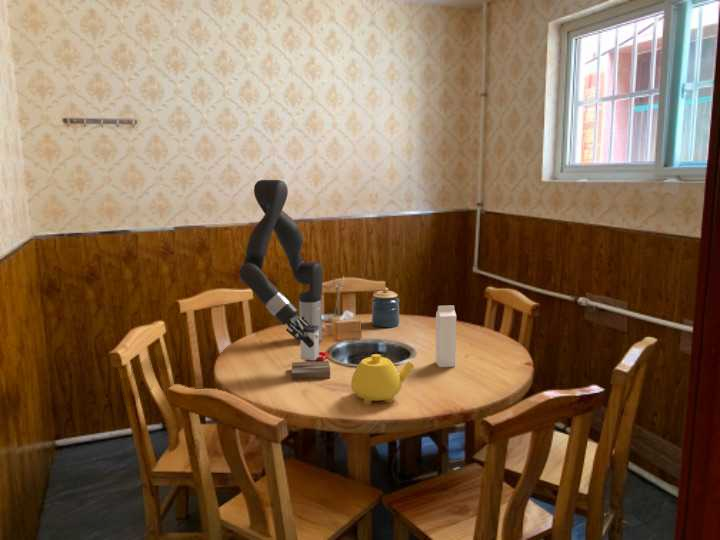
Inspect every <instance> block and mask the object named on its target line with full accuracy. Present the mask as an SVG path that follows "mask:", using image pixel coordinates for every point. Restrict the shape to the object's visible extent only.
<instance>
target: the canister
mask: <svg viewBox="0 0 720 540" xmlns="http://www.w3.org/2000/svg"><path fill="white" fill-rule="evenodd" d="M371 302H372V306H371V324H373V325H375V326H378V327H377V328H380V327H391V328H396V327H399V325H400V306H399V302H400V298H398V294H397V293H396V292H395V291H392V290H389V288H388V287H383V288H382V290H379V291H376V292H375V293H373V298H372V299H371ZM373 325H372V326H373ZM375 326H374V327H375ZM395 326H396V327H395Z"/></svg>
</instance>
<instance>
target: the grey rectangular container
mask: <svg viewBox="0 0 720 540" xmlns="http://www.w3.org/2000/svg"><path fill="white" fill-rule="evenodd" d="M303 332H304V333H305V334H306V335H307V336H308V337H309V338H310V339H311V340H312V342H313V343H314V345H313V346H312V347H311V348H309V347H308V346H307V345H306V344H305V343H304V342H303V340H302V341H301V340H299V341H300V360H304V361H313V360H316V359H317V358H318V357H320V354H319V352H320V346H319V345H320V341H319V326H314V325H307V326H305V325H304V326H303ZM307 336H306V337H307Z"/></svg>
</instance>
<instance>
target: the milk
mask: <svg viewBox="0 0 720 540" xmlns="http://www.w3.org/2000/svg"><path fill="white" fill-rule="evenodd" d="M456 349H457V314H456V311H455V305H438V306H437V311H436V313H435V363H436V364H437V366H438V367H439V368H455V367H456V359H457V358H456V352H457V351H456ZM454 366H455V367H454Z"/></svg>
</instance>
